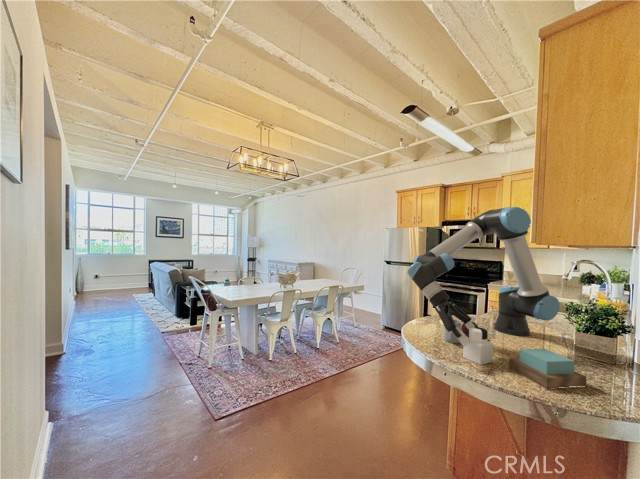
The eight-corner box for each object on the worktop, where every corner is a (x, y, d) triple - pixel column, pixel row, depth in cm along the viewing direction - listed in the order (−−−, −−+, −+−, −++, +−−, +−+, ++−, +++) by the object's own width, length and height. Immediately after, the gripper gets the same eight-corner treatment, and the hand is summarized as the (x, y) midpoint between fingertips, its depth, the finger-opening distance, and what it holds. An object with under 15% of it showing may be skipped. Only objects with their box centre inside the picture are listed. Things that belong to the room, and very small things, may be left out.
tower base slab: (543, 368, 99) (543, 357, 99) (585, 389, 85) (586, 376, 85) (508, 369, 97) (509, 358, 97) (546, 391, 83) (546, 377, 83)
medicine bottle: (474, 354, 108) (475, 324, 108) (492, 362, 102) (493, 330, 102) (462, 357, 105) (463, 326, 105) (480, 365, 98) (481, 332, 99)
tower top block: (544, 360, 97) (544, 348, 97) (574, 373, 87) (574, 361, 87) (519, 360, 96) (519, 349, 96) (546, 374, 86) (546, 361, 86)
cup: (460, 339, 125) (461, 320, 125) (460, 346, 116) (461, 325, 116) (443, 336, 128) (444, 317, 129) (441, 343, 120) (442, 322, 120)
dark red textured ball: (477, 334, 133) (477, 320, 133) (479, 339, 126) (479, 324, 126) (460, 332, 136) (460, 318, 136) (461, 337, 129) (461, 322, 129)
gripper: (441, 296, 125) (476, 338, 114) (415, 303, 108) (453, 353, 97) (454, 286, 122) (491, 329, 110) (428, 292, 104) (470, 343, 93)
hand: (473, 341), depth 104 cm, fingers open, 13 cm apart
